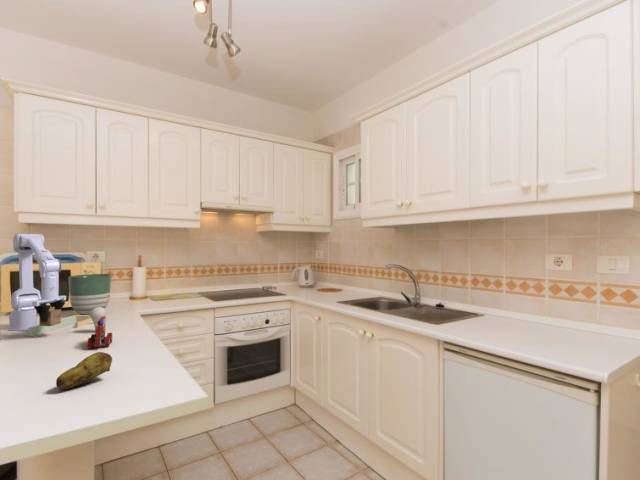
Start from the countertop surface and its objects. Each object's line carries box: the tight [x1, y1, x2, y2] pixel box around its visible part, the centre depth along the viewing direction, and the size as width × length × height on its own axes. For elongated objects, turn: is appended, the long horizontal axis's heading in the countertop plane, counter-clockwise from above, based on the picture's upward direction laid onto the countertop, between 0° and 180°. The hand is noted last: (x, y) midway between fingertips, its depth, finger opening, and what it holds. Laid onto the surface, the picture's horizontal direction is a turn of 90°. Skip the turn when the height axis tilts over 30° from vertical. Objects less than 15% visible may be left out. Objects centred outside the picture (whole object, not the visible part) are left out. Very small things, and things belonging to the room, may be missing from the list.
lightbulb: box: [90, 307, 108, 331], centre depth 151 cm, size 6×6×11 cm
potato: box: [55, 351, 113, 390], centre depth 96 cm, size 8×13×8 cm, turn 123°
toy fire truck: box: [86, 316, 113, 350], centre depth 132 cm, size 7×12×10 cm, turn 23°
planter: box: [68, 273, 112, 315], centre depth 189 cm, size 20×20×21 cm
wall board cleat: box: [27, 314, 94, 337], centre depth 158 cm, size 10×26×4 cm, turn 176°
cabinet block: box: [38, 306, 62, 326], centre depth 145 cm, size 5×5×7 cm
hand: (50, 320), depth 145 cm, fingers closed on cabinet block, 5 cm apart
